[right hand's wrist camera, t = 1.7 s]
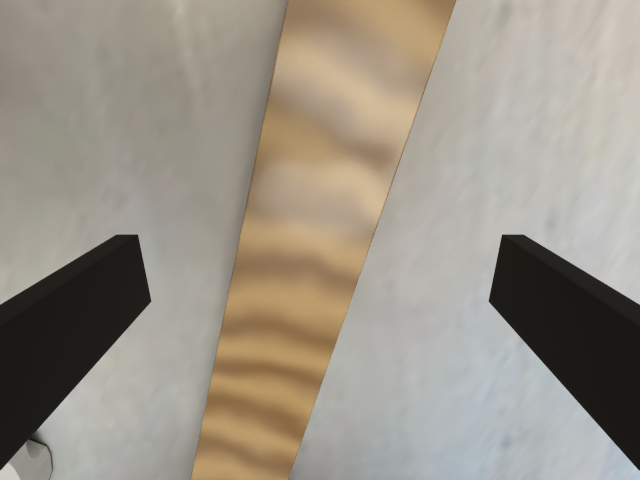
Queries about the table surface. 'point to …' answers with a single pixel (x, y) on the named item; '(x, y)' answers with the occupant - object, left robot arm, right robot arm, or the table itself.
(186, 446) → the table surface
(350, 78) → the wooden beam
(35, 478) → the ashtray
